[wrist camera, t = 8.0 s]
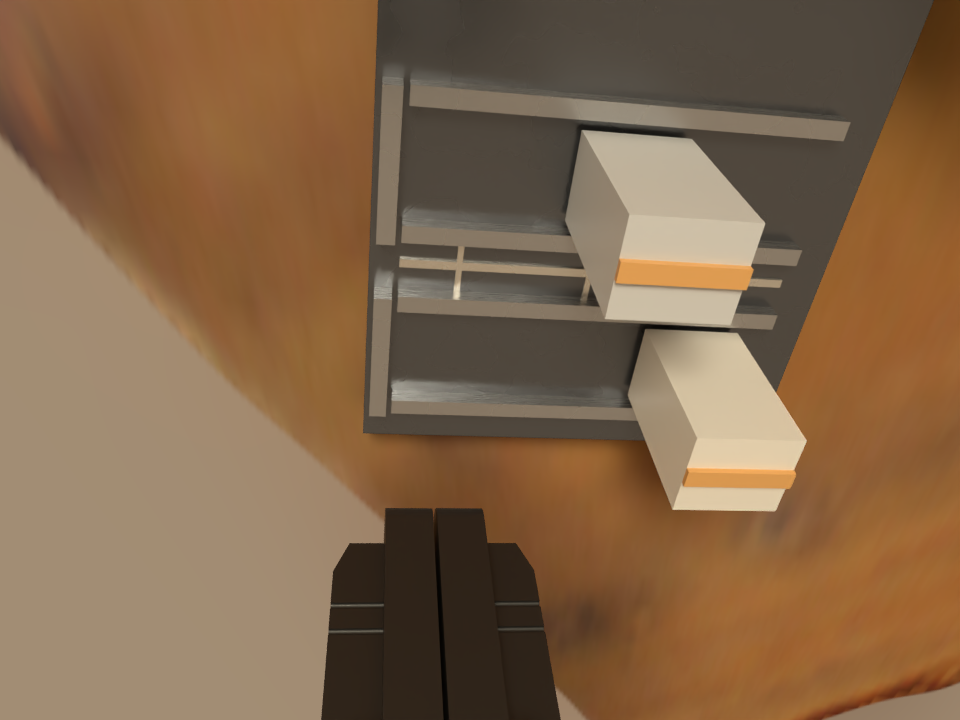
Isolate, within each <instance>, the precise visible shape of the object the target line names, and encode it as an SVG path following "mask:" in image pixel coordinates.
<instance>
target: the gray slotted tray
mask: <svg viewBox="0 0 960 720" xmlns="http://www.w3.org/2000/svg"><path fill="white" fill-rule="evenodd" d="M933 1H934V0H378V22H377V50H376V79H375V108H374V136H373V165H372V194H371V222H370V251H369V280H368V308H367V337H366V366H365V394H364V423H363V433H376V434H414V435H453V436H491V437H529V438H567V439H606V440H644V441H645V438H644V436H643V433H642V431H641V428H640V425H639V423H638V420H637V418H636V415H635V413H634V410H633V408H632V405H631V403H630V400H629V397H628V391H629V388H630V384H631V380H632V377H633V373H634V369H635V365H636V362H637V358H638V354H639V351H640V347H641V343H642V340H643V336H644V332H645V329H660V330H682V331H704V332H726V333H738V335H739V336H740V338H741V339H742V341H743V342H744V344H745V345H746V347H747V349H748V350H749V352H750V353H751V355H752V356H753V358H754V359H755V361H756V363H757V364H758V366H759V367H760V369H761V370H762V372H763V374H764V375H765V377H766V378H767V380H768V381H769V383H770V384H771V386H772V388H773V389H774V391H775V392H776V391H777V389H778V386H779V384H780V381H781V379H782V376H783V374H784V371H785V369H786V366H787V364H788V361H789V359H790V356H791V354H792V351H793V349H794V346H795V344H796V341H797V339H798V336H799V334H800V331H801V329H802V326H803V324H804V322H805V319H806V317H807V314H808V312H809V309H810V307H811V304H812V302H813V299H814V297H815V294H816V292H817V289H818V287H819V284H820V282H821V279H822V277H823V274H824V272H825V269H826V267H827V264H828V262H829V259H830V257H831V255H832V252H833V250H834V247H835V245H836V242H837V240H838V237H839V235H840V232H841V230H842V227H843V225H844V222H845V220H846V217H847V215H848V212H849V210H850V207H851V205H852V202H853V200H854V197H855V195H856V192H857V190H858V187H859V185H860V183H861V180H862V178H863V175H864V173H865V170H866V168H867V165H868V163H869V160H870V158H871V155H872V153H873V150H874V148H875V145H876V143H877V140H878V138H879V135H880V133H881V130H882V128H883V125H884V123H885V120H886V118H887V116H888V113H889V111H890V108H891V106H892V103H893V101H894V98H895V96H896V93H897V91H898V88H899V86H900V83H901V81H902V78H903V76H904V73H905V71H906V68H907V66H908V63H909V61H910V58H911V56H912V53H913V51H914V48H915V46H916V44H917V41H918V39H919V36H920V34H921V31H922V29H923V26H924V24H925V21H926V19H927V16H928V14H929V11H930V9H931V6H932V4H933ZM582 130H588V131H601V132H613V133H626V134H638V135H651V136H663V137H676V138H688V139H692V140H693V141H694V142H695V143H696V144H697V145H698V146H699V148H700V149H701V150H702V151H703V152H704V153H705V155H706V156H707V157H708V158H709V159H710V160H711V161H712V163H713V164H714V165H715V166H716V167H717V168H718V169H719V171H720V172H721V173H722V174H723V175H724V176H725V177H726V179H727V180H728V181H729V182H730V183H731V184H732V186H733V187H734V188H735V189H736V190H737V191H738V192H739V194H740V195H741V196H742V197H743V198H744V199H745V200H746V202H747V203H748V204H749V205H750V206H751V207H752V208H753V210H754V211H755V212H756V213H757V214H758V215H759V217H760V218H761V219H762V220H763V221H764V222H765V226H764V229H763V232H762V235H761V238H760V241H759V244H758V247H757V250H756V252H755V255H754V258H753V261H752V264H751V267H752V268H753V273H752V276H751V279H750V282H749V285H748V288H747V290H743V291H742V293H741V296H740V299H739V302H738V305H737V308H736V311H735V314H734V317H733V320H732V323H731V325H719V324H698V323H676V322H655V321H634V320H613V319H605V318H604V316H603V313H602V311H601V308H600V306H599V303H598V301H597V298H596V296H595V293H594V291H593V288H592V286H591V284H590V281H589V279H588V276H587V274H586V271H585V269H584V266H583V264H582V261H581V259H580V256H579V254H578V251H577V249H576V246H575V244H574V242H573V239H572V237H571V234H570V232H569V229H568V227H567V224H566V222H565V218H566V212H567V207H568V202H569V196H570V191H571V185H572V180H573V175H574V169H575V164H576V158H577V153H578V148H579V142H580V137H581V132H582Z"/></svg>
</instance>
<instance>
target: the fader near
mask: <svg viewBox="0 0 960 720" xmlns="http://www.w3.org/2000/svg"><path fill="white" fill-rule="evenodd" d="M565 222H566V224H567V227H568V229H569V232H570V234H571V237H572V239H573V242H574V244H575V246H576V249H577V251H578V254H579V256H580V259H581V261H582V264H583V266H584V269H585V271H586V274H587V276H588V279H589V281H590V284H591V286H592V288H593V291H594V293H595V296H596V298H597V301H598V303H599V306H600V308H601V311H602V313H603V316H604V318H605V319H613V320H634V321H655V322H676V323H698V324H719V325H731V323H732V320H733V317H734V314H735V311H736V308H737V305H738V302H739V299H740V296H741V293H742V291H743V290H747V288H748V285H749V282H750V279H751V276H752V273H753V268H752V267H751V264H752V261H753V258H754V255H755V252H756V250H757V247H758V244H759V241H760V238H761V235H762V232H763V229H764V226H765V222H764V221H763V220H762V219H761V218H760V217H759V215H758V214H757V213H756V212H755V211H754V210H753V208H752V207H751V206H750V205H749V204H748V203H747V202H746V200H745V199H744V198H743V197H742V196H741V195H740V194H739V192H738V191H737V190H736V189H735V188H734V187H733V186H732V184H731V183H730V182H729V181H728V180H727V179H726V177H725V176H724V175H723V174H722V173H721V172H720V171H719V169H718V168H717V167H716V166H715V165H714V164H713V163H712V161H711V160H710V159H709V158H708V157H707V156H706V155H705V153H704V152H703V151H702V150H701V149H700V148H699V146H698V145H697V144H696V143H695V142H694V141H693V140H692V139H688V138H676V137H663V136H651V135H638V134H626V133H613V132H601V131H588V130H582V132H581V137H580V142H579V148H578V153H577V158H576V164H575V169H574V175H573V180H572V185H571V191H570V196H569V202H568V207H567V212H566V218H565Z"/></svg>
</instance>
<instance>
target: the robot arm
mask: <svg viewBox="0 0 960 720" xmlns="http://www.w3.org/2000/svg"><path fill="white" fill-rule="evenodd" d="M321 720H561V719H560V713H559V708H558V702H557V697H556V691H555V685H554V680H553V674H552V669H551V663H550V657H549V652H548V646H547V640H546V635H545V632H544V624H543V618H542V612H541V607H540V606H539V596H538V590H537V584H536V579H535V573H534V569H533V568H532V566H531V565H530V564H529V562H528V561H527V559H526V558H525V556H524V555H523V553H522V552H521V550H520V549H519V547H518V546H517V544H516V543H487V536H486V528H485V520H484V514H483V510H482V509H460V508H436V509H435V513H434V523H433V511H432V509H425V508H385V528H384V543H366V544H364V543H360V544H359V543H350V544H349V545H348V547H347V549H346V550H345V552H344V554H343V556H342V557H341V559H340V561H339V562H338V564H337V566H336V568H335V569H334V571H333V581H332V593H331V609H330V618H329V635H328V643H327V655H326V669H325V680H324V693H323V705H322V718H321Z"/></svg>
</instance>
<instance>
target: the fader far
mask: <svg viewBox="0 0 960 720" xmlns="http://www.w3.org/2000/svg"><path fill="white" fill-rule="evenodd" d="M628 397H629V400H630V403H631V405H632V408H633V410H634V413H635V415H636V418H637V420H638V423H639V425H640V428H641V431H642V433H643V436H644V438H645V441H646V443H647V446H648V448H649V451H650V454H651V456H652V459H653V461H654V464H655V466H656V469H657V471H658V474H659V477H660V479H661V482H662V484H663V487H664V489H665V492H666V494H667V497H668V500H669V502H670V505H671V507H672V510H733V511H776V509H777V506H778V504H779V502H780V500H781V497H782V495H783V493H784V491H785V489H790V488H791V485H792V483H793V481H794V479H795V477H796V473H795V472H794V469H795V466H796V464H797V462H798V460H799V457H800V455H801V453H802V451H803V449H804V446H805V444H806V442H807V441H806V439H805V437H804V436H803V434H802V433H801V431H800V430H799V428H798V427H797V425H796V423H795V422H794V420H793V419H792V417H791V416H790V414H789V412H788V411H787V409H786V408H785V406H784V405H783V403H782V402H781V400H780V398H779V397H778V395H777V394H776V392H775V391H774V389H773V388H772V386H771V384H770V383H769V381H768V380H767V378H766V377H765V375H764V374H763V372H762V370H761V369H760V367H759V366H758V364H757V363H756V361H755V359H754V358H753V356H752V355H751V353H750V352H749V350H748V349H747V347H746V345H745V344H744V342H743V341H742V339H741V338H740V336H739V335H738V333H726V332H704V331H682V330H660V329H645V332H644V336H643V340H642V343H641V347H640V351H639V354H638V358H637V362H636V365H635V369H634V373H633V377H632V380H631V384H630V388H629V391H628Z"/></svg>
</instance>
